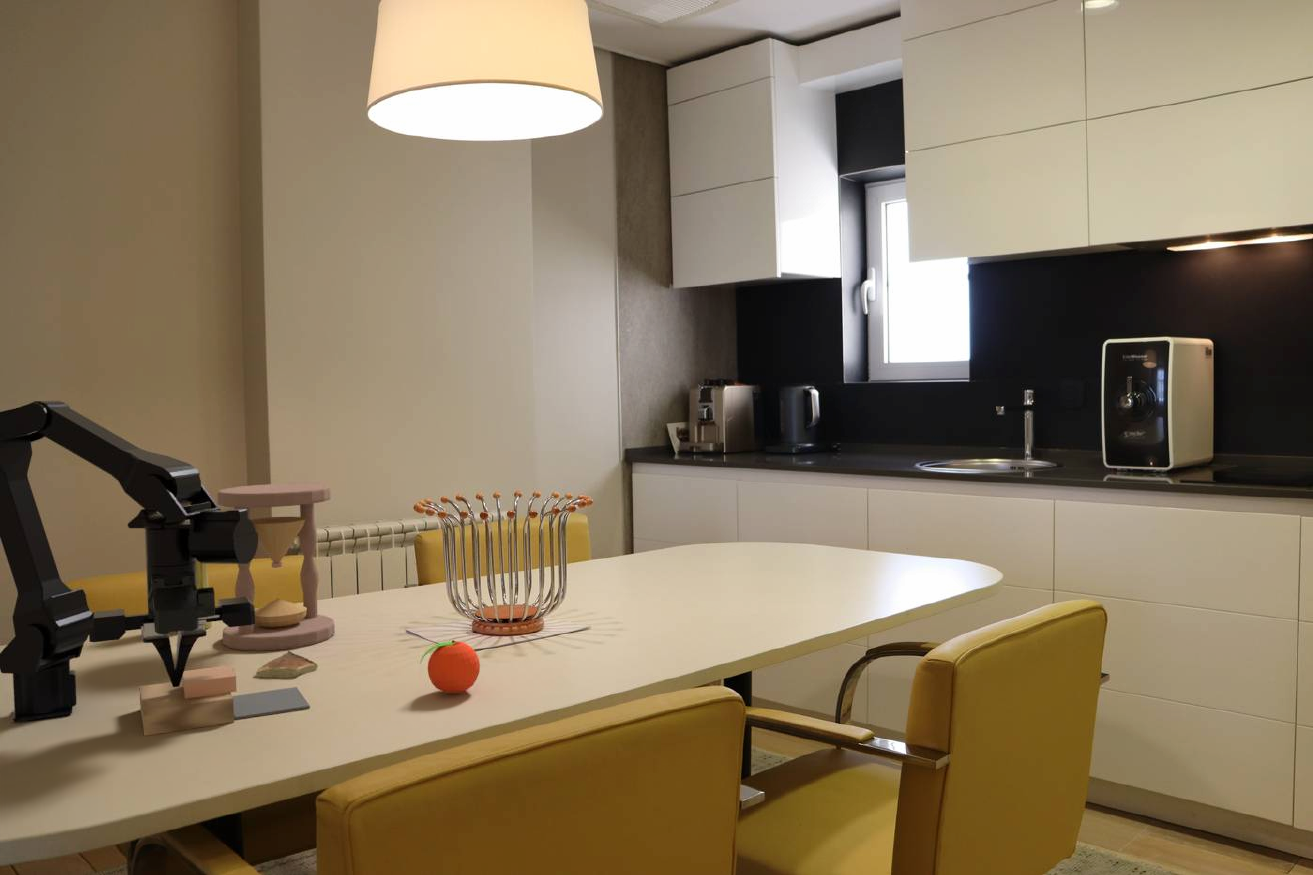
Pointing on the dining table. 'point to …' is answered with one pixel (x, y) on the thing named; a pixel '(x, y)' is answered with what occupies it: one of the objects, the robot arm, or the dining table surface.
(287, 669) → the shard
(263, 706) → the mat
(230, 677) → the pink square block
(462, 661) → the clementine
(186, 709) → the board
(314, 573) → the hourglass
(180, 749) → the dining table surface
